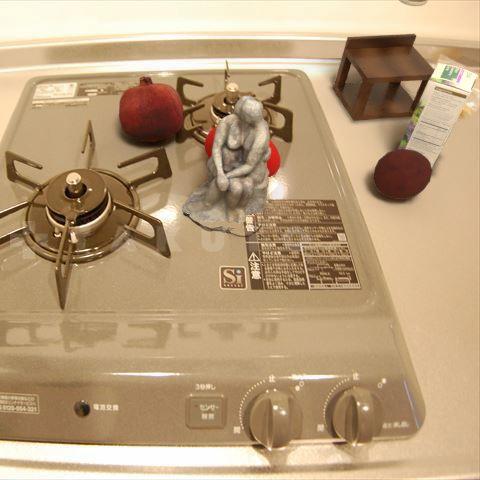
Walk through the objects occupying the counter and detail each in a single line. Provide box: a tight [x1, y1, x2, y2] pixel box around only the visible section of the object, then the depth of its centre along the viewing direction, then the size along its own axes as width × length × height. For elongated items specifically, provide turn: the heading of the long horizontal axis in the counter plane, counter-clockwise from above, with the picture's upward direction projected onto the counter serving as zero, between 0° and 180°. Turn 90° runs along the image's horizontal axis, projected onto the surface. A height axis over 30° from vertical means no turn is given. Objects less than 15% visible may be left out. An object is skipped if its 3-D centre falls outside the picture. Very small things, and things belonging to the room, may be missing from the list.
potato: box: [372, 148, 433, 200], centre depth 78 cm, size 7×8×7 cm
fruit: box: [118, 76, 185, 143], centre depth 85 cm, size 11×10×10 cm
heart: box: [204, 125, 282, 178], centre depth 79 cm, size 12×5×10 cm, turn 62°
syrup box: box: [396, 62, 479, 169], centre depth 81 cm, size 6×6×14 cm
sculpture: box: [181, 95, 271, 234], centre depth 71 cm, size 11×18×12 cm
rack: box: [332, 33, 435, 121], centre depth 93 cm, size 12×10×10 cm
